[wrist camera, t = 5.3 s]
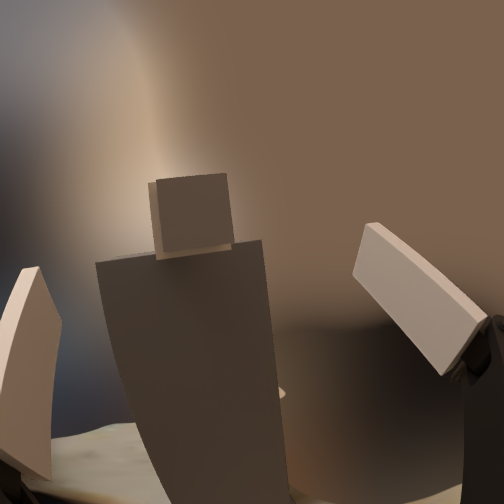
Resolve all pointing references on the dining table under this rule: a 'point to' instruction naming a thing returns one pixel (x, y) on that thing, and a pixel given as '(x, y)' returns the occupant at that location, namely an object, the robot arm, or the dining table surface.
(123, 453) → the dining table surface
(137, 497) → the dining table surface
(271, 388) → the stand
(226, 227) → the beige square bar
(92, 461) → the dining table surface
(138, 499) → the dining table surface
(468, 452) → the robot arm
